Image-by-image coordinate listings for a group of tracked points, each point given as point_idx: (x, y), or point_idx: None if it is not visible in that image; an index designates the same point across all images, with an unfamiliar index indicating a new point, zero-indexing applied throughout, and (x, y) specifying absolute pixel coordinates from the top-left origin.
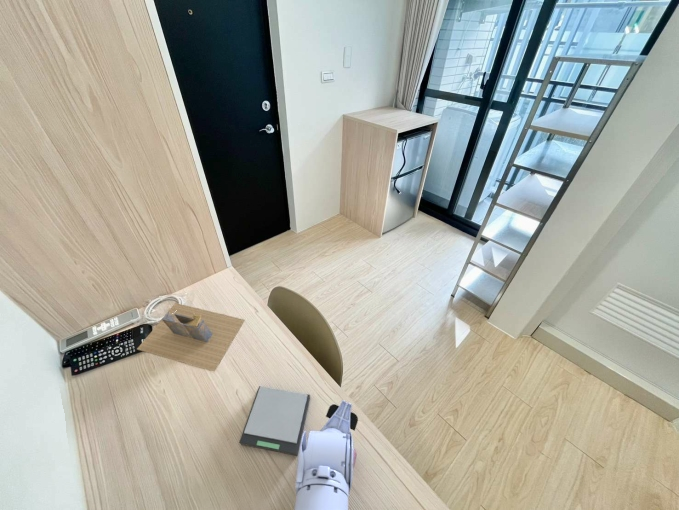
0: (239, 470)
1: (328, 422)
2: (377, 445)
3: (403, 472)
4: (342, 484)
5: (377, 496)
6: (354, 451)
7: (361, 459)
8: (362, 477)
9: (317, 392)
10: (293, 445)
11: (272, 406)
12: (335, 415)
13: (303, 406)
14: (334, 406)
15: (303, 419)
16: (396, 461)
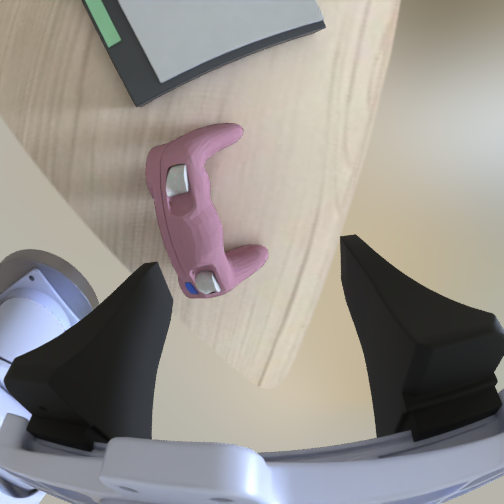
0: (19, 12)
1: (408, 490)
2: (307, 283)
3: (288, 348)
4: None
5: (215, 335)
6: (264, 261)
7: None
8: None
9: (340, 47)
10: (149, 78)
11: None
12: (468, 481)
13: (281, 27)
14: (496, 355)
15: (242, 52)
16: (299, 330)
